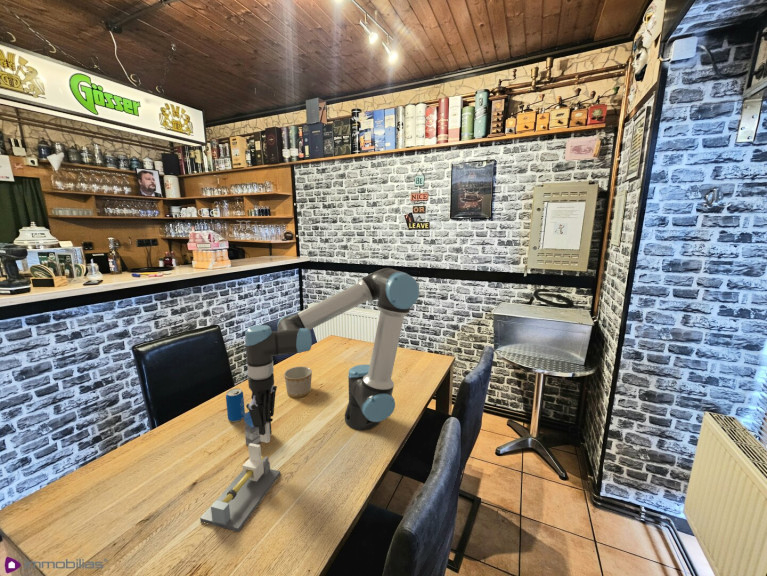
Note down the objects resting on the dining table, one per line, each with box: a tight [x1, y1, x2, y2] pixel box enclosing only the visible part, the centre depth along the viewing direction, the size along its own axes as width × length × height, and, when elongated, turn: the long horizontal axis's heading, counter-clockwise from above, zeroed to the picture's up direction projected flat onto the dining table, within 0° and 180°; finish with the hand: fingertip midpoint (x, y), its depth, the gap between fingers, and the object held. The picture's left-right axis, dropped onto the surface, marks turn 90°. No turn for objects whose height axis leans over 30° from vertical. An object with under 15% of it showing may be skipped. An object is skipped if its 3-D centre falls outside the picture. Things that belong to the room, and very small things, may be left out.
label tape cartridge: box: [243, 411, 273, 446], centre depth 116 cm, size 9×4×12 cm, turn 151°
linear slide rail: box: [199, 456, 281, 533], centre depth 93 cm, size 12×20×6 cm, turn 166°
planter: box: [283, 366, 313, 399], centre depth 149 cm, size 13×13×10 cm
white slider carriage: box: [242, 443, 264, 481], centre depth 97 cm, size 5×4×10 cm
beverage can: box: [225, 387, 246, 423], centre depth 129 cm, size 6×6×12 cm
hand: (265, 440), depth 103 cm, fingers closed
